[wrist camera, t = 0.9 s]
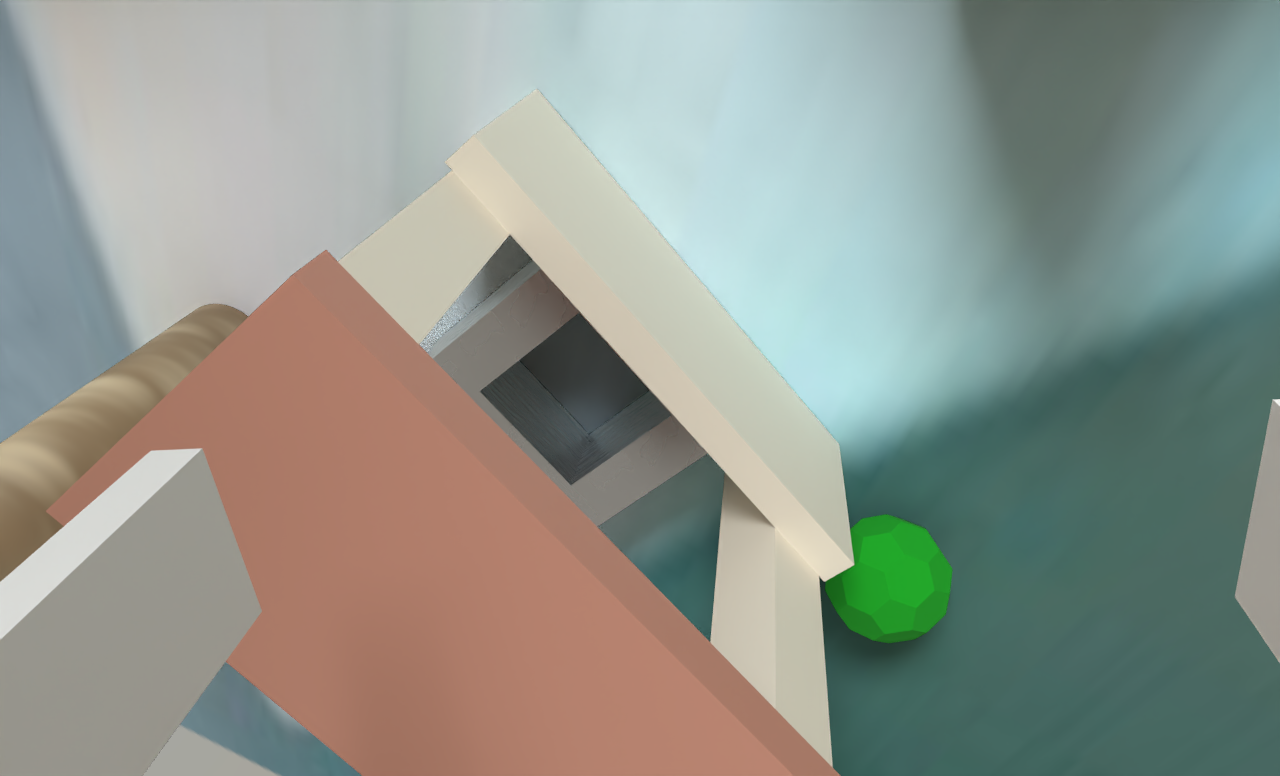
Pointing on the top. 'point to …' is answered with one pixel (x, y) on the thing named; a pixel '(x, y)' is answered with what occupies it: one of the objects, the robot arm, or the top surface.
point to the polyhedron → (891, 581)
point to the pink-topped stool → (506, 502)
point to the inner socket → (542, 428)
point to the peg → (94, 427)
